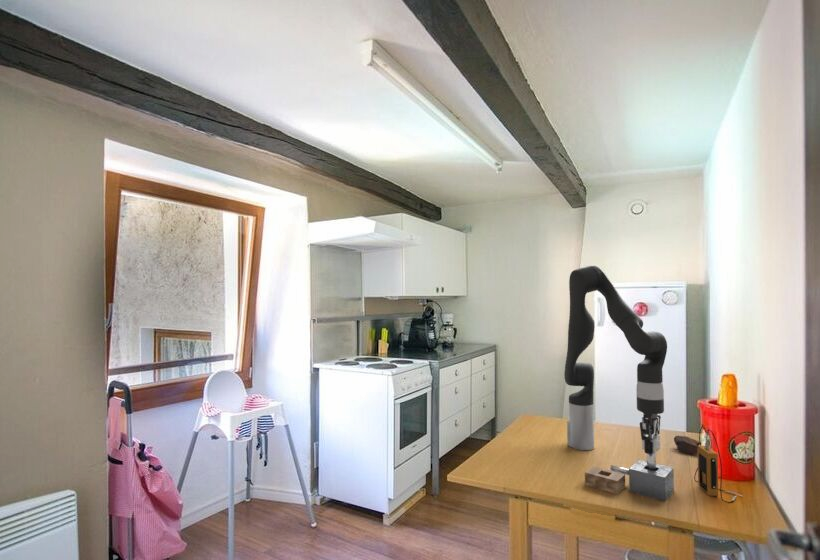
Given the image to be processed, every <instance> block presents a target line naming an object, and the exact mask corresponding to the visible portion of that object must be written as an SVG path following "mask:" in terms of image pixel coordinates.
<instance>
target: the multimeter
mask: <svg viewBox="0 0 820 560" xmlns="http://www.w3.org/2000/svg"><path fill="white" fill-rule="evenodd" d="M702 429H703V430H704V432H705V443H704V445H702V444H701V443H702V442H701V431H702ZM709 432H711V434H712V436H713V438H714V441H715V445H716V448H717V452H718V453H717V452H716V451H715V450H713V449H712V448H710V444H709ZM698 439H699V440H698V441H699V442H701V443H700V445H698V446H697V450H698V454H697V468H696V470H695V473H694V476H693V480H694V481H695V482H696V483H698V485H697V486H698V488H700V489H701V490H702V491H704V492H705V493H706V495H707V496H708V495H709V496H710V497H712V496H713V497H719V495H720V499H721V501H723V503H727V502H728V503H733V502H734V501H735V500H736V499H737V496H740V497H743V495H742V494H738V493H736V492H734V491H733V492H732V491H729V490H724V489H722V482H723V481H722V480H723V478H722V477H723V466H722V459H721V458H722V457H721V454H720V450H719V445H718V441H717V439H716V437H715V434H714V433H713V430H711V429H707V431H706V428H705V427H704V425H703V424H701V427H700V430H699V434H698ZM718 456H719V457H718ZM718 459H719V460H718ZM719 463H720V485H719ZM696 475H697V480H696ZM719 486H720V488H719ZM719 491H720V492H719ZM722 492H725V493H727V492H728V494H731V493H732V494H731V495H734V494H735V496H733V498H732V499H731V501H726V500H725V499H723V493H722ZM719 493H720V494H719ZM728 503H727V504H728Z"/></svg>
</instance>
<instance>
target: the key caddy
mask: <svg viewBox="0 0 820 560" xmlns="http://www.w3.org/2000/svg"><path fill="white" fill-rule="evenodd" d="M584 486H587V487H591V488H594V489H596V490H597V489H598V490H601V491H604V492H608V493H612V494H615V495H619V494H620V493H621V492H622V491H623V490H624V489H625V488H626V474H622V473H618V472H614V471H611V469H606V468H603V467H598V466H594V465H592V466H591V467H589V469H588V470H586V471H585V472H584Z"/></svg>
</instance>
